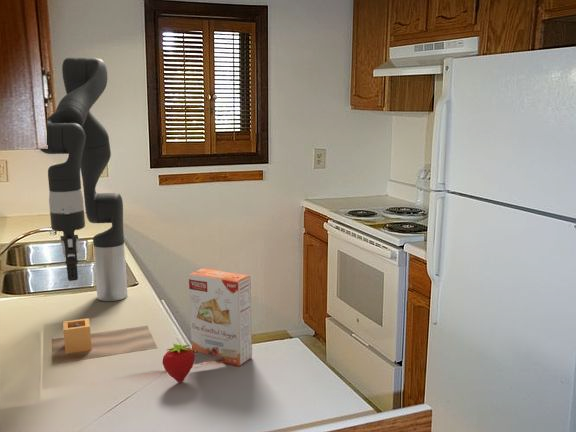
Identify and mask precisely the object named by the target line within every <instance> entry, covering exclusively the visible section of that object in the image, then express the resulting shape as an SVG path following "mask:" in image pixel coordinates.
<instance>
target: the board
mask: <svg viewBox="0 0 576 432" xmlns="http://www.w3.org/2000/svg"><path fill="white" fill-rule="evenodd" d="M79 326H80V325H79V324H75V325H73V327H79ZM91 347H92V350H87V351H81V352H74V353H67V354H65V342H64V337H57V338H52V339H51V365H59V364H65V363H70V362H78V361H84V360H90V359H96V358H97V359H98V358H102V357H103V358H104V357H110V356H115V355H122V354H128V353H134V352H140V351H148V350H153V349H158V346H157V344H156V342H155V339H154V337H153V334H152V332H151V330H150V328H149V326H148V325H142V326H134V327H130V328H129V327H128V328H120V329H115V330H114V329H113V330H107V331H106V330H105V331H100V332H94V333H93V332H92V333H91Z"/></svg>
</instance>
